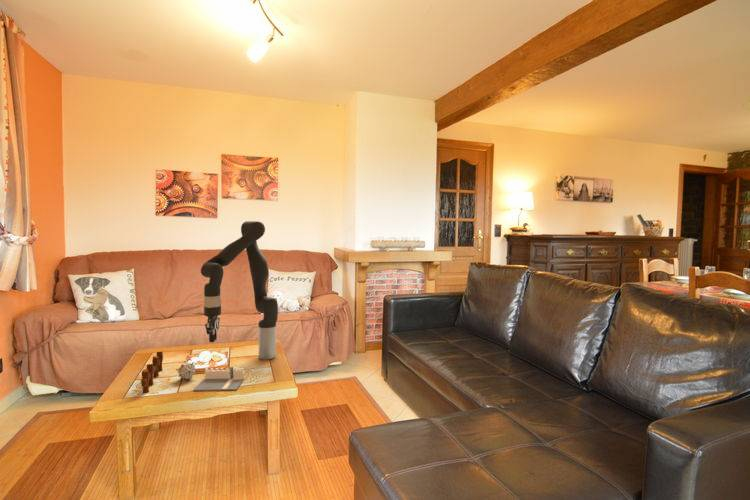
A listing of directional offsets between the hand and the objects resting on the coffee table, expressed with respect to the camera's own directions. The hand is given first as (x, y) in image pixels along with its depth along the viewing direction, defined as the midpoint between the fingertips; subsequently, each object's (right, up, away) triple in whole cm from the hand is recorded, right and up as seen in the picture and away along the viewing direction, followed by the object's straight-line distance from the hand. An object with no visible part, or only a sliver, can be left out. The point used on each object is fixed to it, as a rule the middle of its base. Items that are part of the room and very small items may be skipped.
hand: (212, 341), depth 186 cm
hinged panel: (+5, -16, -4) cm, 17 cm away
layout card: (+7, -18, -9) cm, 21 cm away
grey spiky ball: (-11, -17, -3) cm, 21 cm away
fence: (-26, -18, -5) cm, 31 cm away
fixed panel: (+13, -17, -3) cm, 22 cm away
